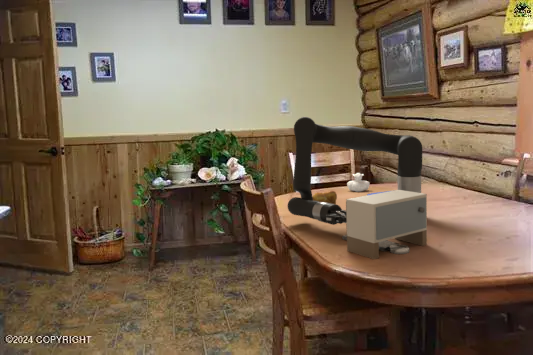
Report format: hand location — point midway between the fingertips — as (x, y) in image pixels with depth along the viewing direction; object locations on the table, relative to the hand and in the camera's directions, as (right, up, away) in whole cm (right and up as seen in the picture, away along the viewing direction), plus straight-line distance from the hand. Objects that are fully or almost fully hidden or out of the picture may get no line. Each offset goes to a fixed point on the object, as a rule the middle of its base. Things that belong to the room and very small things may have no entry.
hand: (358, 220), depth 175 cm
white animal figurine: (+17, +7, +97) cm, 99 cm away
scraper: (+3, -7, -3) cm, 9 cm away
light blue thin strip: (+30, +4, +75) cm, 81 cm away
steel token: (+10, -9, -14) cm, 20 cm away
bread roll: (-6, +1, +61) cm, 61 cm away
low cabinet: (+8, -8, -10) cm, 15 cm away
